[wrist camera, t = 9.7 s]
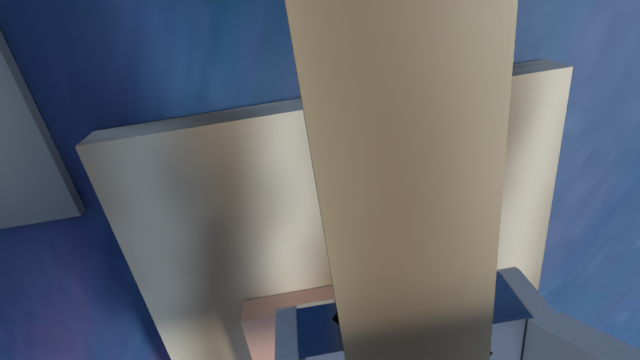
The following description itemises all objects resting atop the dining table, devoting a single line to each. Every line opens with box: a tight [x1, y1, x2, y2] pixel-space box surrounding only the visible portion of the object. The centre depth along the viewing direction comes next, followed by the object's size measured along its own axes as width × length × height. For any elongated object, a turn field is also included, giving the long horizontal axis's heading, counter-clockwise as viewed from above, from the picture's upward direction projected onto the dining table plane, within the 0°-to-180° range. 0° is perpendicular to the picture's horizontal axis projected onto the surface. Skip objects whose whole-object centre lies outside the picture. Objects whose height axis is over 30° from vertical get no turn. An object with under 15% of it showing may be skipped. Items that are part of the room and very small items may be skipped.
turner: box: [284, 0, 518, 360], centre depth 9 cm, size 6×20×3 cm, turn 8°
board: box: [75, 59, 573, 360], centre depth 23 cm, size 22×24×2 cm
